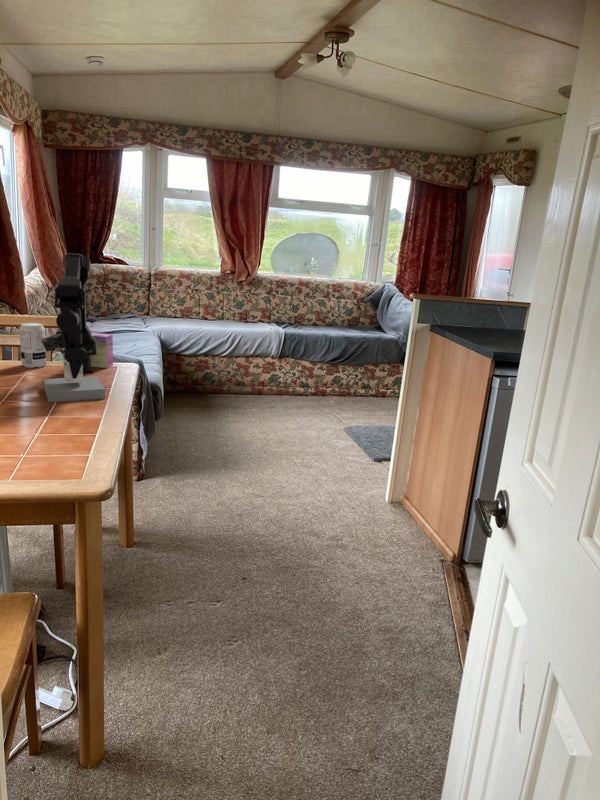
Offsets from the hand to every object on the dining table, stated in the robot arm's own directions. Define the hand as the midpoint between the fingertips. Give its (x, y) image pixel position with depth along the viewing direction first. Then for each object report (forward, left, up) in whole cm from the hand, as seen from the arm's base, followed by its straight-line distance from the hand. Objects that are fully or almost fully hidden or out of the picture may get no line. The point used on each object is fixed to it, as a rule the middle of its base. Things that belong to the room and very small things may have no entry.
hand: (73, 376), depth 186 cm
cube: (0, 0, -1) cm, 1 cm away
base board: (0, 0, -6) cm, 6 cm away
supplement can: (-40, -9, -6) cm, 41 cm away
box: (-36, +12, -6) cm, 38 cm away
